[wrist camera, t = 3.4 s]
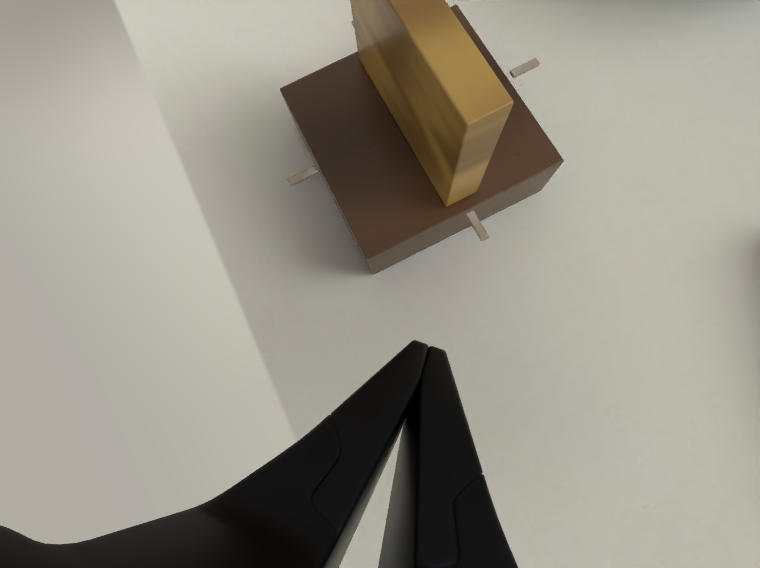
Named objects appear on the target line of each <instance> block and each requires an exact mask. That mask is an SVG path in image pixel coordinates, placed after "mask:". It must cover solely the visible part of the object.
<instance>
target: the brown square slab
mask: <svg viewBox="0 0 760 568" xmlns="http://www.w3.org/2000/svg"><path fill="white" fill-rule="evenodd" d="M450 9H451V10H452V11H453V13H454V14H455V16H456V17H457V19H458V20H459V22H460V23H461V25H462V26H463V28H464V29H465V31H466V32H467V33H468V35H469V36H470V38H471V39H472V41H473V42H474V44H475V45H476V47H477V48H478V50H479V51H480V53H481V54H482V56H483V57H484V58H485V60H486V61H487V63H488V64H489V66H490V67H491V69H492V70H493V72H494V73H495V75H496V76H497V78H498V79H499V80H500V82H501V83H502V85H503V86H504V88H505V89H506V91H507V92H508V94H509V95H510V97H511V98H512V100H513V106H512V108H511V110H510V113H509V115H508V118H507V120H506V122H505V125H504V127H503V130H502V132H501V134H500V137H499V139H498V142H497V144H496V147H495V149H494V151H493V154H492V156H491V159H490V161H489V163H488V166H487V168H486V171H485V173H484V175H483V178H482V180H481V183H480V185H479V187H478V190H477V192H475V193H473V194H471V195H469V196H467V197H465V198H463V199H461V200H459V201H457V202H455V203H453V204H451V205H449V206H447V207H446V206H445V205H444V203H443V201H442V199H441V198H440V196H439V194H438V193H437V191H436V189H435V187H434V186H433V184H432V182H431V181H430V179H429V177H428V176H427V174H426V172H425V170H424V169H423V167H422V165H421V164H420V162H419V160H418V158H417V157H416V155H415V153H414V152H413V150H412V148H411V146H410V145H409V143H408V141H407V140H406V138H405V136H404V135H403V133H402V131H401V129H400V128H399V126H398V124H397V123H396V121H395V119H394V117H393V116H392V114H391V112H390V111H389V109H388V107H387V105H386V104H385V102H384V100H383V99H382V97H381V95H380V94H379V92H378V90H377V88H376V87H375V85H374V83H373V82H372V80H371V78H370V76H369V75H368V73H367V71H366V70H365V68H364V66H363V64H362V63H361V61H360V59H359V54H358V52H355V53H353V54H351V55H349V56H347V57H345V58H343V59H341V60H339V61H337V62H334V63H332V64H330V65H328V66H326V67H324V68H322V69H320V70H318V71H316V72H314V73H311V74H309V75H307V76H305V77H303V78H301V79H299V80H297V81H295V82H293V83H291V84H288V85H286V86H284V87H282V88H280V91H281V93H282V96H283V98H284V100H285V102H286V104H287V106H288V109H289V111H290V113H291V115H292V117H293V120H294V122H295V124H296V126H297V128H298V130H299V132H300V134H301V136H302V138H303V140H304V142H305V144H306V146H307V148H308V150H309V152H310V153H311V155H312V157H313V159H314V161H315V163H316V165H317V167H318V169H319V171H320V173H321V175H322V177H323V179H324V181H325V183H326V185H327V187H328V189H329V191H330V193H331V195H332V197H333V198H334V200H335V202H336V204H337V206H338V208H339V210H340V212H341V214H342V216H343V218H344V220H345V222H346V224H347V226H348V228H349V230H350V232H351V234H352V236H353V238H354V240H355V242H356V243H357V245H358V247H359V249H360V251H361V253H362V255H363V257H364V259H365V261H366V263H367V265H368V267H369V269H370V271H371V273H372V274H375V273H377V272H379V271H381V270H383V269H385V268H387V267H389V266H391V265H393V264H395V263H397V262H399V261H401V260H403V259H405V258H407V257H409V256H411V255H413V254H415V253H417V252H419V251H421V250H423V249H425V248H427V247H429V246H431V245H433V244H435V243H437V242H439V241H441V240H443V239H445V238H447V237H449V236H451V235H453V234H455V233H457V232H459V231H461V230H463V229H465V228H467V227H469V226H471V225H472V226H473V228H474V230H475V231H476V233H477V235H478V237H479V238H480V240H481V241H484V240H486V239H488V238H489V236H488V234H487V232H486V231H485V229H484V227H483V226H482V224H481V222H480V221H481V220H483V219H485V218H487V217H489V216H491V215H493V214H495V213H497V212H499V211H501V210H503V209H505V208H507V207H509V206H511V205H513V204H515V203H517V202H519V201H521V200H523V199H525V198H527V197H529V196H531V195H533V194H535V193H537V192H539V191H541V190H542V188H543V187H544V186H545V184H546V183H547V182H548V181H549V179H550V178H551V177H552V176H553V174H554V173H555V172H556V170H557V169H558V168H559V167H560V165H561V164H562V163H563V161H564V160H563V159H562V157H561V156H560V154H559V153H558V151H557V150H556V148H555V147H554V145H553V144H552V143H551V141H550V140H549V138H548V137H547V135H546V134H545V132H544V131H543V130H542V128H541V127H540V125H539V124H538V122H537V121H536V119H535V118H534V116H533V115H532V114H531V112H530V111H529V109H528V108H527V106H526V105H525V103H524V102H523V100H522V99H521V98H520V96H519V95H518V93H517V92H516V90H515V89H514V87H513V86H512V84H511V83H510V82H509V80H508V79H507V77H506V76H505V74H504V73H503V71H502V70H501V68H500V67H499V66H498V64H497V63H496V61H495V60H494V58H493V57H492V55H491V54H490V52H489V51H488V50H487V48H486V47H485V45H484V44H483V42H482V41H481V39H480V38H479V36H478V35H477V34H476V32H475V31H474V29H473V28H472V26H471V25H470V23H469V22H468V20H467V19H466V18H465V16H464V15H463V13H462V12H461V10H460V9H459V7H458V6H457V5H454V6H452V7H450ZM352 25H353V27H354V21H352ZM539 64H540V63H539V62H538V60H537V59H536V58H535V59H533V60H531V61H529V62H527V63H525V64H523V65H520V66H518V67H516V68H514V69H512V70H510V74H511V76H512V77H513V78H515V77H517V76H519V75H521V74H523V73H525V72H527V71H529V70H531V69H533V68H535V67H537V66H539ZM316 174H318V172H317V170H316V168H315V166H313V167H311V168H309V169H307V170H305V171H303V172H301V173H299V174H297V175H295V176H293V177H291V178H289V179H287V180H288V182H289V184H290V186H291V187H292V186H294V185H296V184H298V183H300V182H302V181H304V180H306V179H308V178H310V177H312V176H314V175H316Z"/></svg>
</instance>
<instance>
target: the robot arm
mask: <svg viewBox="0 0 760 568" xmlns="http://www.w3.org/2000/svg"><path fill="white" fill-rule="evenodd" d="M403 424H404V425H403ZM402 426H403V429H402ZM401 429H402V434H401V439H400V445H399V450H398V456H397V462H396V468H395V474H394V479H393V485H392V491H391V497H390V502H389V508H388V514H387V520H386V526H385V531H384V537H383V543H382V549H381V554H380V560H379V566H378V568H518V566H517V564H516V561H515V559H514V557H513V554H512V552H511V550H510V547H509V545H508V542H507V540H506V537H505V535H504V532H503V530H502V527H501V525H500V522H499V520H498V517H497V514H496V511H495V508H494V505H493V502H492V499H491V496H490V494H489V490H488V487H487V484H486V480H485V477H484V475H483V474H482V468H481V465H480V461H479V458H478V455H477V452H476V448H475V445H474V442H473V439H472V435H471V432H470V429H469V426H468V423H467V419H466V416H465V413H464V410H463V406H462V403H461V400H460V397H459V393H458V390H457V387H456V384H455V380H454V377H453V374H452V371H451V367H450V364H449V361H448V358H447V354H446V352H445V351H444V350H442V349H439V348H436V347H433V346H430V347H428V345H427V344H425V343H422V342H419V341H416V340H413V341H412V342H410V343H409V344H408V345H407V346H406V347H405V348H404V349H403V350H402V351H400V352H399V353H398V354H397V355H396V356H395V357H394V358H393V359H391V360H390V361H389V362H388V363H387V364H386V365H385V366H384V367H382V368H381V369H380V370H379V371H378V372H377V373H376V374H375V375H373V376H372V377H371V378H370V379H369V380H368V381H367V382H366V383H365V384H363V385H362V386H361V387H360V388H359V389H358V390H357V391H356V392H354V393H353V394H352V395H351V396H350V397H349V398H348V399H347V400H345V401H344V402H343V403H342V404H341V405H340V406H339V407H338V408H337V409H335V410H334V411H333V412H332V413H331V415H328V416H327V417H326V418H325V419H324V420H323V421H322V422H321V423H319V424H318V425H317V426H316V427H315V428H314V429H312V430H311V431H310V432H309V433H308V434H306V435H305V436H304V437H303V438H302V439H300V440H299V441H297V442H296V443H295V444H293V445H292V446H291V447H289V448H288V449H286V450H285V451H284V452H282V453H281V454H279V455H278V456H277V457H275V458H274V459H272V460H271V461H269V462H268V463H267V464H265V465H264V466H262V467H260V468H259V469H258V470H256V471H255V472H253V473H252V474H250V475H249V476H247V477H246V478H245V479H243V480H241V481H240V482H239V483H237V484H236V485H234V486H233V487H231V488H230V489H228V490H227V491H225V492H224V493H222V494H220V495H219V496H217V497H215V498H214V499H212V500H210V501H208V502H206V503H204V504H201V505H199V506H197V507H194V508H191V509H188V510H185V511H182V512H179V513H176V514H172V515H169V516H166V517H162V518H159V519H156V520H152V521H149V522H146V523H143V524H140V525H136V526H133V527H130V528H127V529H123V530H120V531H117V532H114V533H111V534H107V535H104V536H101V537H97V538H94V539H91V540H87V541H82V542H78V543H71V544H61V545H58V544H44V543H41V542H37V541H34V540H32V539H30V538H28V537H26V536H24V535H22V534H20V533H18V532H15V531H13V530H11V529H9V528H6V527H3V526H0V568H339V565H340V564H341V561H342V559H343V557H344V555H345V553H346V550H347V548H348V546H349V544H350V542H351V539H352V537H353V535H354V533H355V531H356V528H357V526H358V524H359V522H360V520H361V517H362V515H363V513H364V511H365V509H366V506H367V504H368V502H369V500H370V498H371V495H372V493H373V491H374V489H375V487H376V484H377V482H378V480H379V478H380V476H381V473H382V471H383V469H384V467H385V465H386V462H387V460H388V458H389V456H390V454H391V451H392V449H393V447H394V445H395V443H396V440H397V438H398V436H399V434H400V431H401Z"/></svg>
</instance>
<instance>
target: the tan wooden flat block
mask: <svg viewBox="0 0 760 568" xmlns="http://www.w3.org/2000/svg"><path fill="white" fill-rule="evenodd" d="M350 1H351V8H352V15H353V21H354V28H355V35H356V41H357V48H358V54H359V59H360V61H361V63H362V64H363V66H364V68H365V70H366V71H367V73H368V75H369V76H370V78H371V80H372V82H373V83H374V85H375V87H376V88H377V90H378V92H379V94H380V95H381V97H382V99H383V100H384V102H385V104H386V105H387V107H388V109H389V111H390V112H391V114H392V116H393V117H394V119H395V121H396V123H397V124H398V126H399V128H400V129H401V131H402V133H403V135H404V136H405V138H406V140H407V141H408V143H409V145H410V146H411V148H412V150H413V152H414V153H415V155H416V157H417V158H418V160H419V162H420V164H421V165H422V167H423V169H424V170H425V172H426V174H427V176H428V177H429V179H430V181H431V182H432V184H433V186H434V187H435V189H436V191H437V193H438V194H439V196H440V198H441V199H442V201H443V203H444V205H445V206H446V207H447V206H449V205H451V204H453V203H455V202H457V201H459V200H461V199H463V198H465V197H467V196H469V195H471V194H473V193H475V192H477V190H478V187H479V185H480V183H481V180H482V178H483V175H484V173H485V171H486V168H487V166H488V163H489V161H490V159H491V156H492V154H493V151H494V149H495V147H496V144H497V142H498V139H499V137H500V134H501V132H502V130H503V127H504V125H505V122H506V120H507V118H508V115H509V113H510V110H511V108H512V106H513V100H512V98H511V97H510V95H509V94H508V92H507V91H506V89H505V88H504V86H503V85H502V83H501V82H500V80H499V79H498V78H497V76H496V75H495V73H494V72H493V70H492V69H491V67H490V66H489V64H488V63H487V61H486V60H485V58H484V57H483V56H482V54H481V53H480V51H479V50H478V48H477V47H476V45H475V44H474V42H473V41H472V39H471V38H470V36H469V35H468V33H467V32H466V31H465V29H464V28H463V26H462V25H461V23H460V22H459V20H458V19H457V17H456V16H455V14H454V13H453V11H452V10H451V9H450V7H449V6H448V4H447V3H446V1H445V0H350Z"/></svg>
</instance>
